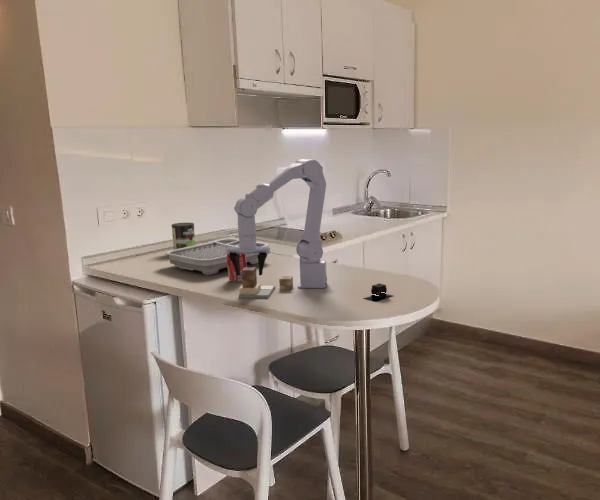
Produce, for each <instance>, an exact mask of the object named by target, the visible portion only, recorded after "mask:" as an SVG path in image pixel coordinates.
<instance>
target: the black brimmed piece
mask: <svg viewBox="0 0 600 500" xmlns="http://www.w3.org/2000/svg"><path fill="white" fill-rule="evenodd" d="M387 289H388V288H387V284H385V283H376V284H373V285H371V288H370V293H372V294H376V295H379V296H375V295H371V294H370V296H367V297H364V298H362V299H363V300H366V301H369V302H374V303H377V302H380V301H384V300H386V299H389V298H393V297H394V295H392V294H389V293H387V294H385V293H386V292H387ZM381 292H385V293H381Z"/></svg>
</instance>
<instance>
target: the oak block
mask: <svg viewBox="0 0 600 500" xmlns="http://www.w3.org/2000/svg"><path fill="white" fill-rule="evenodd" d="M293 278H294V277H293V275H281V276H280V277H279V280H278V281H279V290H280V291H291V290H292V289H293V288H294V279H293Z"/></svg>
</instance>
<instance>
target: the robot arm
mask: <svg viewBox="0 0 600 500" xmlns="http://www.w3.org/2000/svg"><path fill="white" fill-rule="evenodd" d="M323 170H324V166H322V165H321V163H320V162H319V161H317V160H316V159H314V158H313V159H304V158H300V159H297V160H296V161H295V162H292V163H291V164H289V165H288V167H286V169H284V170H283V171H282V172H280V173H279V174H278V175H277V176H276V177H275V178H274V179H272V180H271V181H270V182H269V183H259V184H257V185H256V186H255V189H254V190H252V191H251V192H249V193H246V194H245V195H244V197H242V198H239V199H238V200H236V202H235V204H234V205H235V206H234V208H233V209H234V212H235V213H236V214H237V230H238V233H237V234H238V239H239V247H228V248H226V254H230V256H229V258H230V260H231V262H232V263H233V265H234V268H235V270H236V274H237V275H240V264H239V259H240V254H259V255H258V256H257V257H258V263H257V264H258V275H259V276H262V275H263V273H264V272H263V271H264V265H265V262H266V260H267V257H268V255H269V254H270V253H271V247H270V246H269V247H258V246H257V245H256V242H257V233H256V231H257V230H256V229H257V228H256V218H255V217H256V216H255V215H256V214H257V212H258V210H259V209H260V208H261V207H262V206H264V205H265V204H266V203H267V202H269V201H270V200H272V199H273V197H274V194H275V192H276V191H277V190H279V189H280V188H282V187H283V186H285V185H286V184H288V183H289V182H291V181H292V180H295V179H301V180H303V181H304V183H306V185H307V186H308V187H309V193H308V201H307V209H306V216H305V222H304V230H303V233H302V234H301V235H300V238H299V242H298V243H297V245H296V249H295V250H296V254H297V256H299V278H300V279H299V284H298V286H297V288H299V289H307V288H308V289H325V288H326V285H327V283H328V276H327V275H328V274H327V273H328V271H327V261H326V260H321V259H322V257H323V254H324V250H323V240H322V237H321V236H320V232H321V224H322V218H323V213H324V212H323V211H324V204H325V196H326V189H327V182H326V178H325V175H324V172H323ZM325 283H326V284H325Z"/></svg>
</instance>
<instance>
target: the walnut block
mask: <svg viewBox="0 0 600 500" xmlns="http://www.w3.org/2000/svg"><path fill="white" fill-rule="evenodd" d="M257 278H258V277H257V266H256V267H254V266H253V267H251V266H250V267H248V266H247V267H244V268H243V269H242V282H241V286H243V288H255V286H256V285H257V284H258V279H257Z"/></svg>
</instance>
